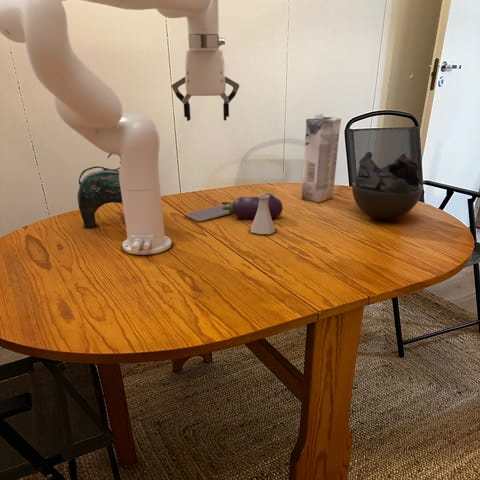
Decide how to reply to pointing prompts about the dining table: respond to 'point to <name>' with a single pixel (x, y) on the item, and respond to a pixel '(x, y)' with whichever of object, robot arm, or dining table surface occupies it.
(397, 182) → the bowl of black rocks
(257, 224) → the flask
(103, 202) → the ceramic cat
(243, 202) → the aubergine
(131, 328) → the dining table surface
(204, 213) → the smartphone
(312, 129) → the juice carton
